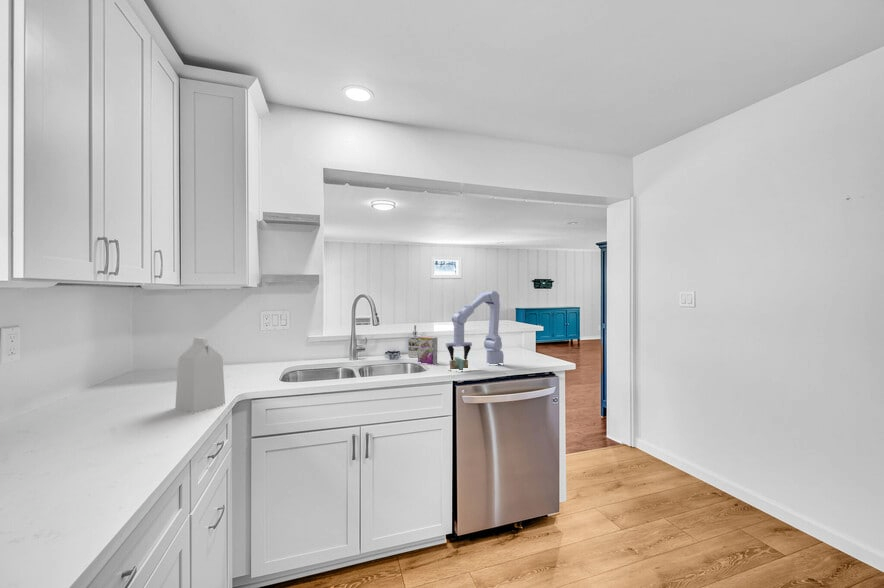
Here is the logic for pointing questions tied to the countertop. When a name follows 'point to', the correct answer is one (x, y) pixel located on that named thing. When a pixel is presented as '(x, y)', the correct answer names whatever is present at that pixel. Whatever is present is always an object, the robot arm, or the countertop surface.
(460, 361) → the light green flat block
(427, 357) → the candy bar box
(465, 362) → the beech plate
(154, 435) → the countertop surface
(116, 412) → the countertop surface
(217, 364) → the milk
